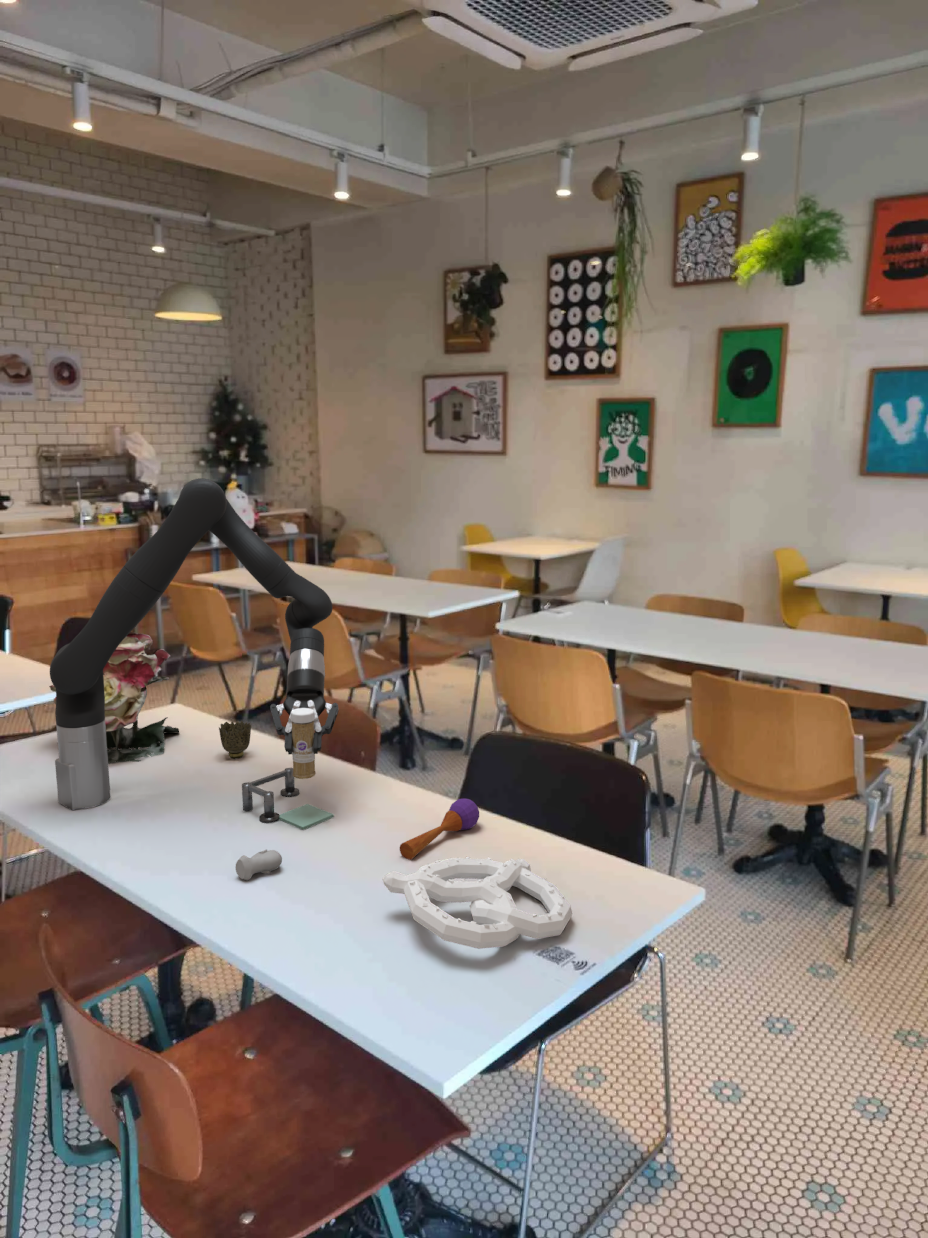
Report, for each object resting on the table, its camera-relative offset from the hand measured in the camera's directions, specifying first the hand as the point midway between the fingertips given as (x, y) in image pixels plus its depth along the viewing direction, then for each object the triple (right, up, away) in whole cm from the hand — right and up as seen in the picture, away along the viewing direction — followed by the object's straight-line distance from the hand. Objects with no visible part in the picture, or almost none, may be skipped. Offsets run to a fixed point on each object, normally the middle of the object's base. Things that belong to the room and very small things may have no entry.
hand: (302, 752), depth 171 cm
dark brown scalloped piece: (-23, -7, +38) cm, 45 cm away
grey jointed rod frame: (-6, -13, +10) cm, 17 cm away
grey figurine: (-5, -19, -18) cm, 26 cm away
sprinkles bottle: (0, -5, +3) cm, 6 cm away
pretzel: (+35, -22, -31) cm, 51 cm away
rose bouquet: (-53, -6, +42) cm, 68 cm away
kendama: (+27, -16, -4) cm, 32 cm away
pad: (0, -14, +5) cm, 15 cm away
